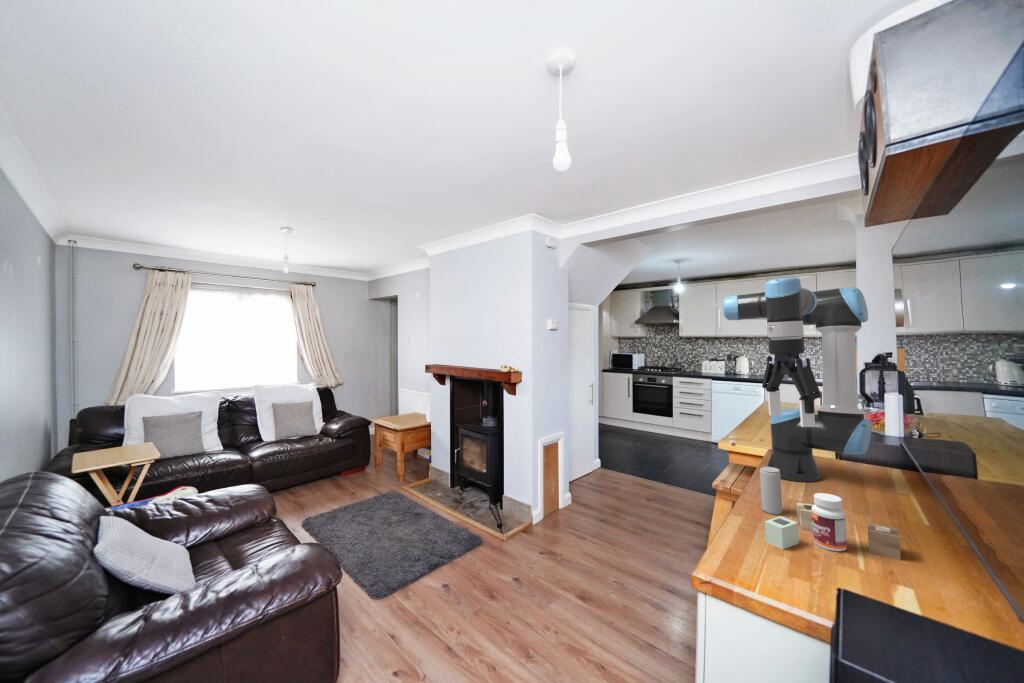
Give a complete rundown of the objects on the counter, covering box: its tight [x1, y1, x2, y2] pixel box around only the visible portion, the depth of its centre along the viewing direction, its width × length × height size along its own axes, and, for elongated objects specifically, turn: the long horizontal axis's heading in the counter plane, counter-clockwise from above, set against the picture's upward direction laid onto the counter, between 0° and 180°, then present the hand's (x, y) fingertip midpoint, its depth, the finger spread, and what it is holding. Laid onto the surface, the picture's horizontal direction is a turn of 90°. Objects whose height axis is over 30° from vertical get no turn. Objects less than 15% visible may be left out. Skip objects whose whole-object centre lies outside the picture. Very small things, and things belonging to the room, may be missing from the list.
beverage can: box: [759, 466, 783, 516], centre depth 108 cm, size 5×5×12 cm
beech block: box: [796, 502, 814, 532], centre depth 99 cm, size 5×5×5 cm
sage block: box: [764, 515, 800, 550], centre depth 92 cm, size 6×4×5 cm, turn 113°
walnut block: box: [867, 522, 902, 561], centre depth 86 cm, size 5×5×5 cm
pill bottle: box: [811, 492, 848, 552], centre depth 90 cm, size 6×6×11 cm
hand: (790, 420), depth 99 cm, fingers open, 13 cm apart
